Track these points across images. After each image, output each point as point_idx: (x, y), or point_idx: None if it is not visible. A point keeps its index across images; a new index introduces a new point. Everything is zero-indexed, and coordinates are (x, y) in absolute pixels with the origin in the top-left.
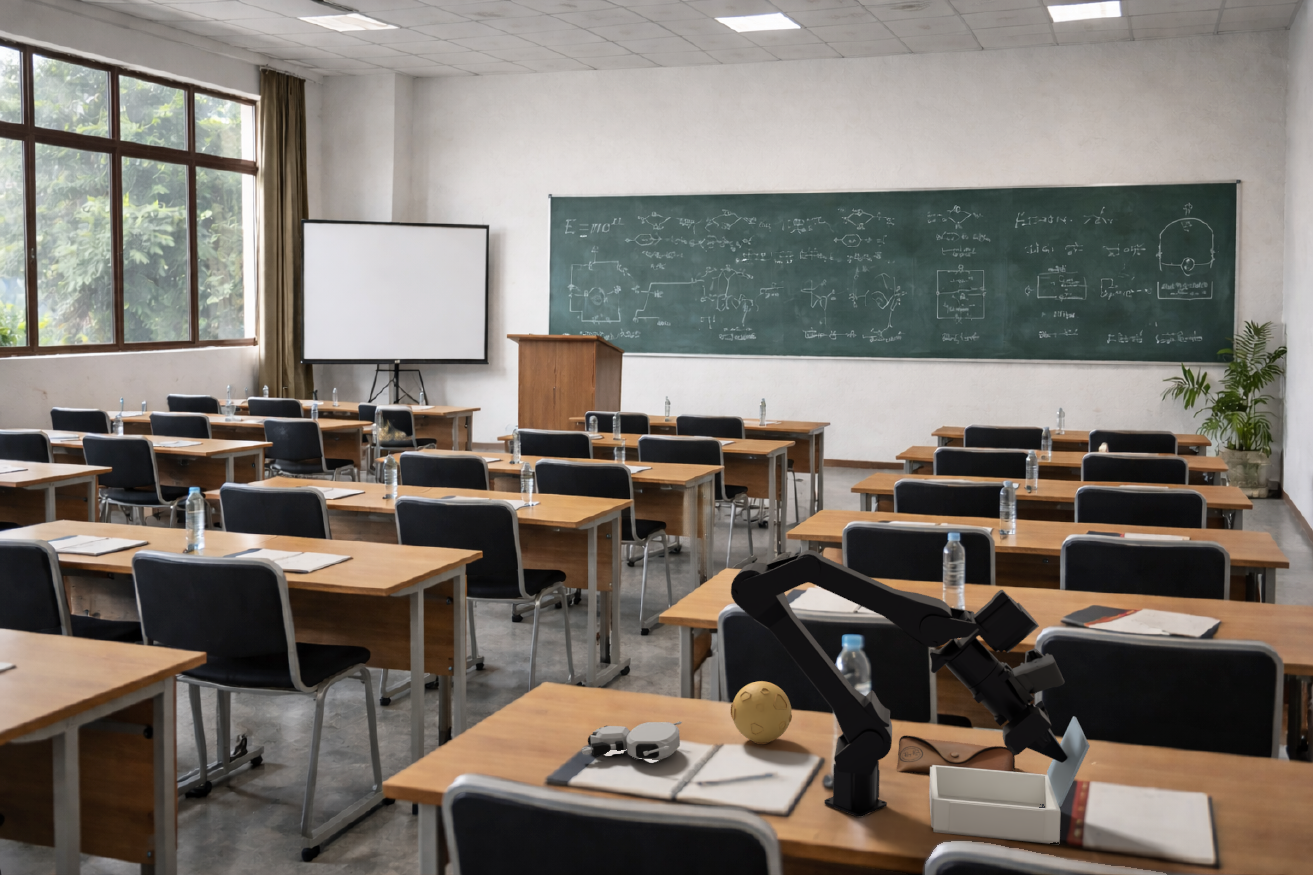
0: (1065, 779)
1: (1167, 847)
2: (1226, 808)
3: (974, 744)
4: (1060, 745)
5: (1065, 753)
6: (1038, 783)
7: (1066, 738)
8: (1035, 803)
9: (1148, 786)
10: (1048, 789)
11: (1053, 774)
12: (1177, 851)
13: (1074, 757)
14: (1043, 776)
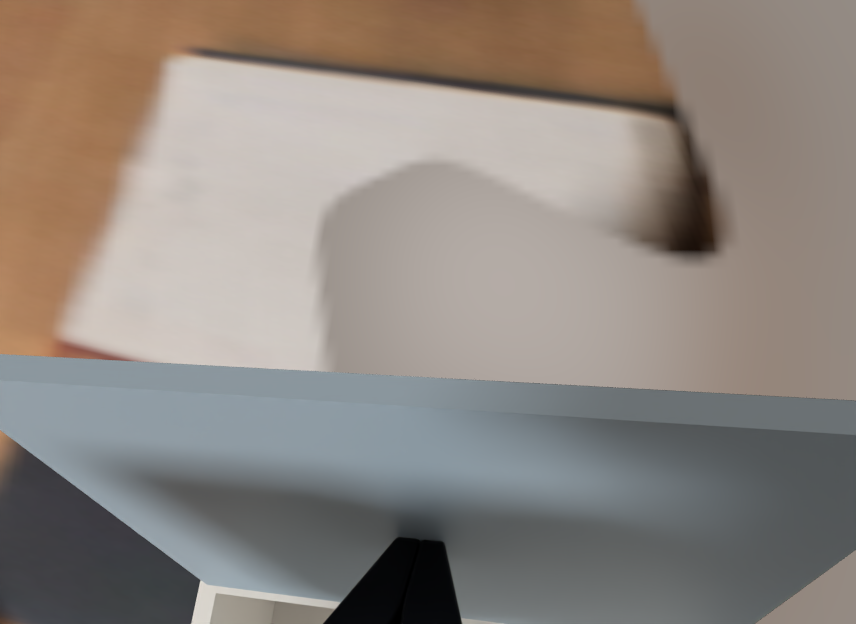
0: (645, 600)
1: (585, 214)
2: (272, 29)
3: None
4: (354, 598)
5: (407, 553)
6: (231, 620)
7: (158, 485)
8: (275, 617)
9: (117, 177)
10: None
11: (336, 588)
12: (609, 193)
13: (638, 532)
14: (216, 599)
